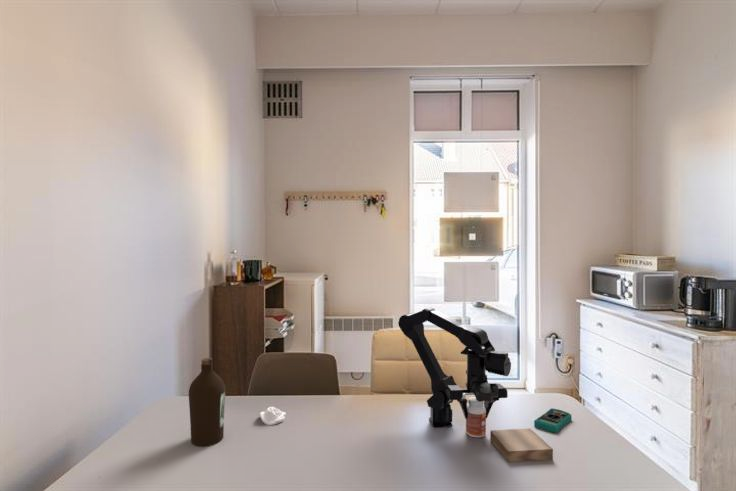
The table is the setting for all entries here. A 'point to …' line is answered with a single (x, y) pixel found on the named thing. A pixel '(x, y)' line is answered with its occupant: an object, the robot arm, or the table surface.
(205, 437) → the olive oil
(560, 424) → the digital multimeter
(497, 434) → the walnut base
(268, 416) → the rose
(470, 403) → the pill bottle
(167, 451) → the table surface
